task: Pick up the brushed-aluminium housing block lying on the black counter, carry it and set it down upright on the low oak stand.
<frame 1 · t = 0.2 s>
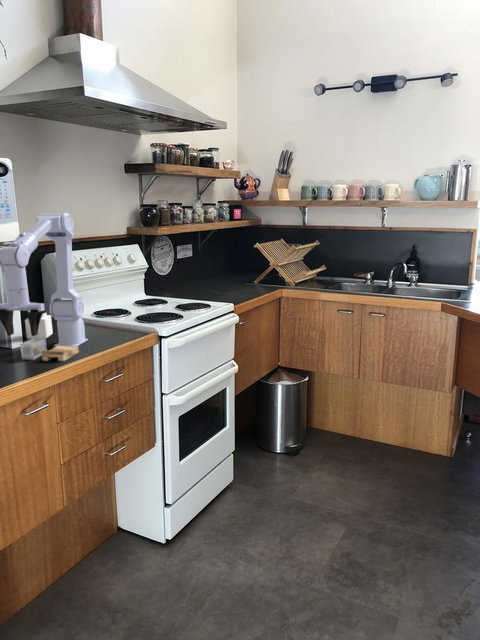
hand: (22, 334, 153), 10 cm above the table, tool pointing down, fingers open, 7 cm apart
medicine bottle: (40, 336, 192), on the table
housing: (34, 356, 167), on the table
stand: (61, 356, 165), on the table
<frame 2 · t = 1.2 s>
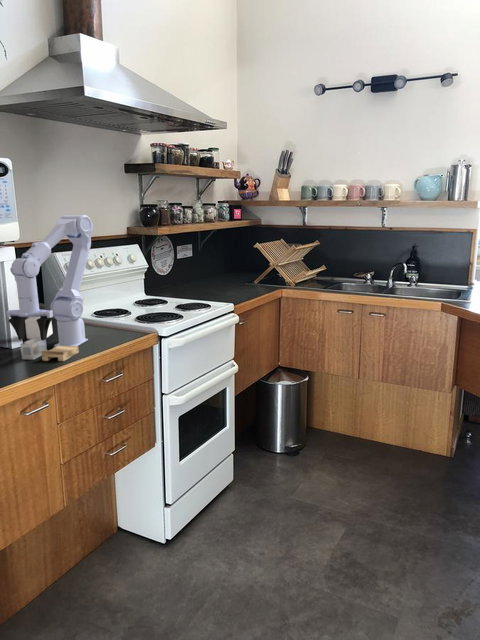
hand: (32, 339, 165), 5 cm above the table, tool pointing down, fingers open, 7 cm apart
nothing on the table moved.
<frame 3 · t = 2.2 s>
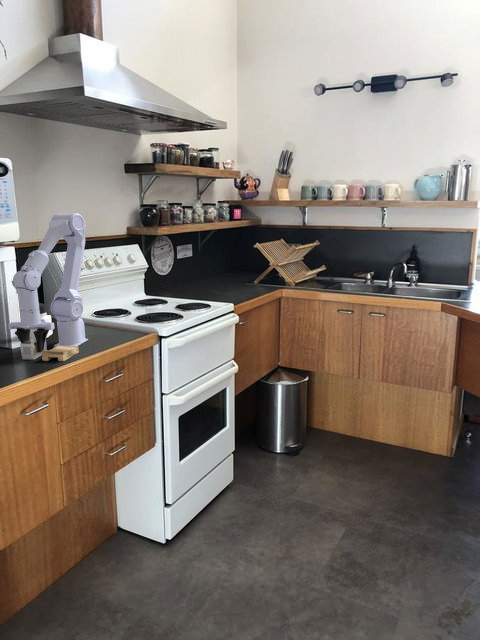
hand: (34, 351, 166), 1 cm above the table, tool pointing down, fingers closed on housing, 4 cm apart
housing: (34, 355, 167), on the table, touching gripper
everything else where it was.
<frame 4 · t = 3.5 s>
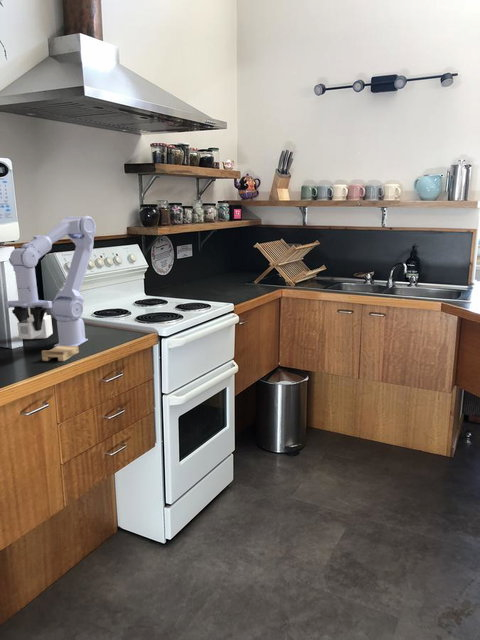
hand: (31, 330, 165), 8 cm above the table, tool pointing down, fingers closed on housing, 4 cm apart
housing: (32, 335, 165), point 7 cm above the table, touching gripper
everything else where it was.
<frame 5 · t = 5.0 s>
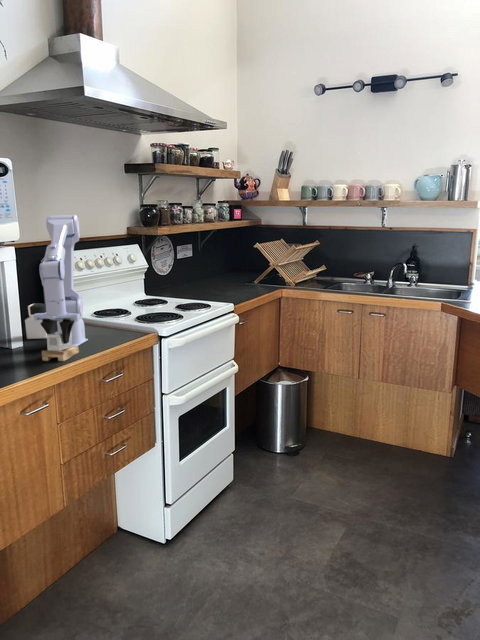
hand: (59, 342, 164), 4 cm above the table, tool pointing down, fingers closed on housing, 4 cm apart
housing: (60, 348, 164), point 3 cm above the table, tilted 7°, touching gripper, stand
everything else where it was.
when the fingers open (4 cm above the table, at t = 5.3 s): housing stays where it is, resting on stand.
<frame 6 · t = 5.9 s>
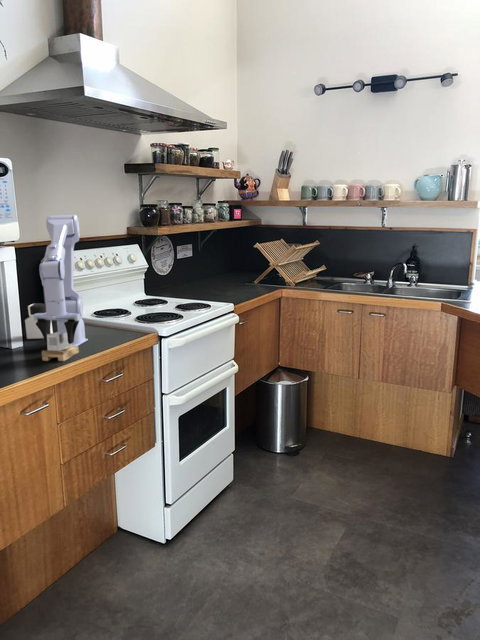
hand: (59, 342, 164), 4 cm above the table, tool pointing down, fingers open, 7 cm apart
housing: (60, 348, 164), point 3 cm above the table, tilted 7°, touching stand
everything else where it was.
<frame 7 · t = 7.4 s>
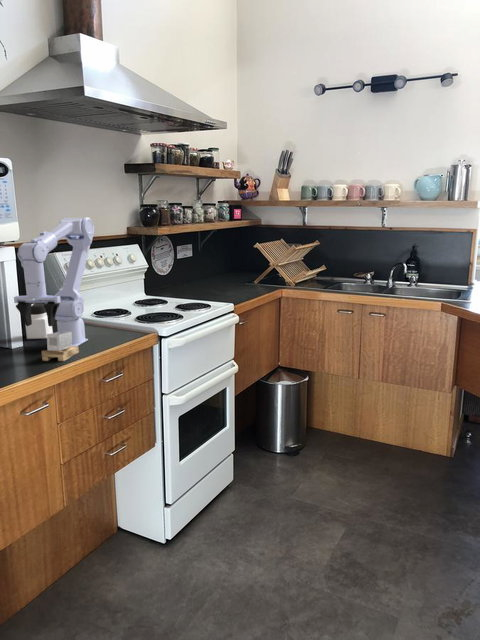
hand: (40, 325, 164), 10 cm above the table, tool pointing down, fingers open, 7 cm apart
nothing on the table moved.
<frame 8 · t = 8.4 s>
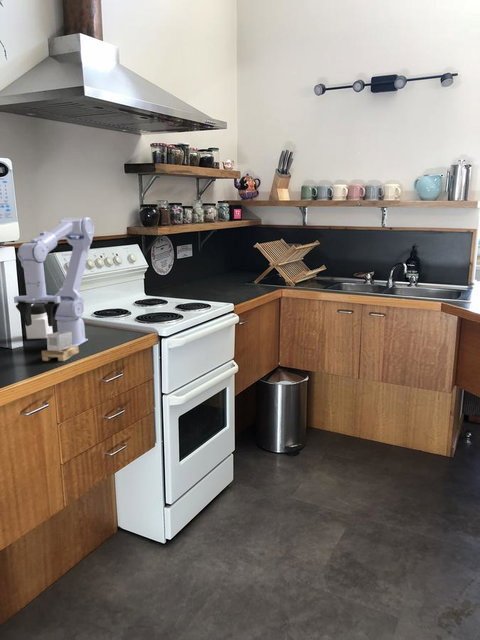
hand: (40, 325, 164), 10 cm above the table, tool pointing down, fingers open, 7 cm apart
nothing on the table moved.
at the end: housing 0.8 cm off-centre on the stand, point 2.5 cm above the stand's base; housing tilted 7°; the gripper is holding nothing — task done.
